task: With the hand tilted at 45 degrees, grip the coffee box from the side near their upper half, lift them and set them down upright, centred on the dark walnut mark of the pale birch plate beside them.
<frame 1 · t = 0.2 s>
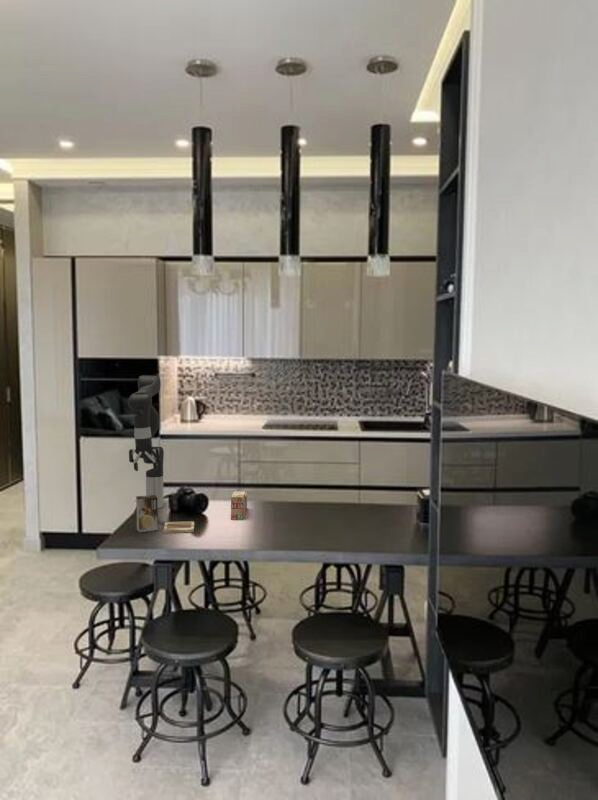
hand: (145, 470, 289), 29 cm above the table, tool pointing down, fingers open, 8 cm apart
coffee box: (147, 530, 293), on the table
birch plate: (179, 528, 296), on the table
printed cardboard box: (239, 515, 323), on the table
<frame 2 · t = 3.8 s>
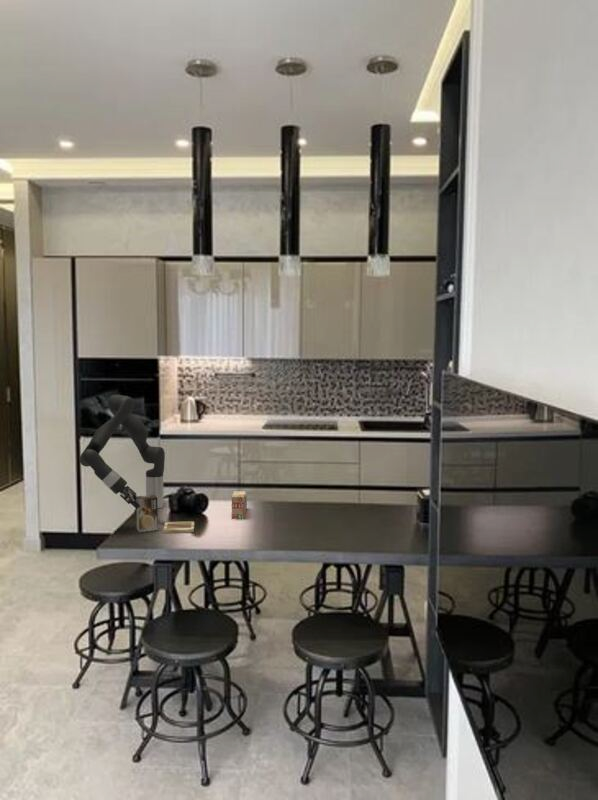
hand: (139, 505, 292), 12 cm above the table, tool tilted 45°, fingers open, 8 cm apart
coffee box: (147, 530, 293), on the table, touching gripper
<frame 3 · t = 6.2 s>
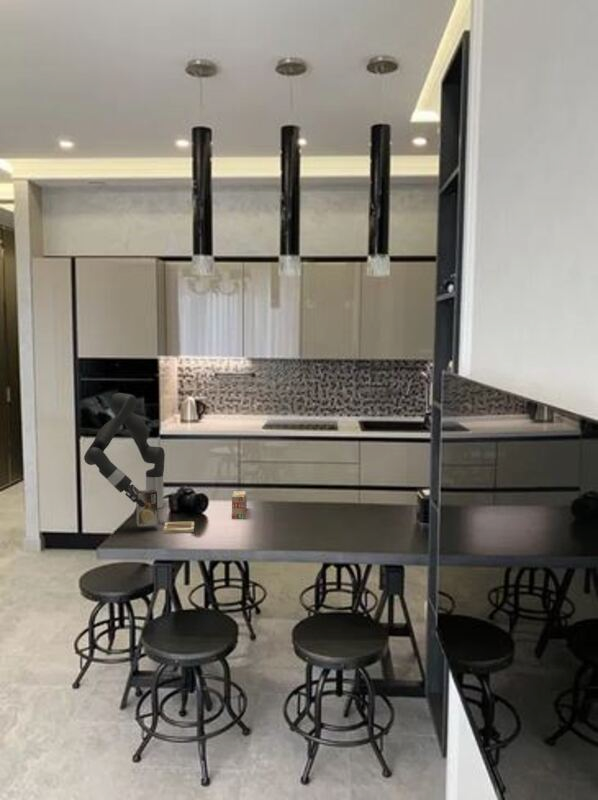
hand: (144, 503, 292), 13 cm above the table, tool tilted 45°, fingers closed on coffee box, 7 cm apart
coffee box: (147, 524, 294), point 2 cm above the table, touching gripper
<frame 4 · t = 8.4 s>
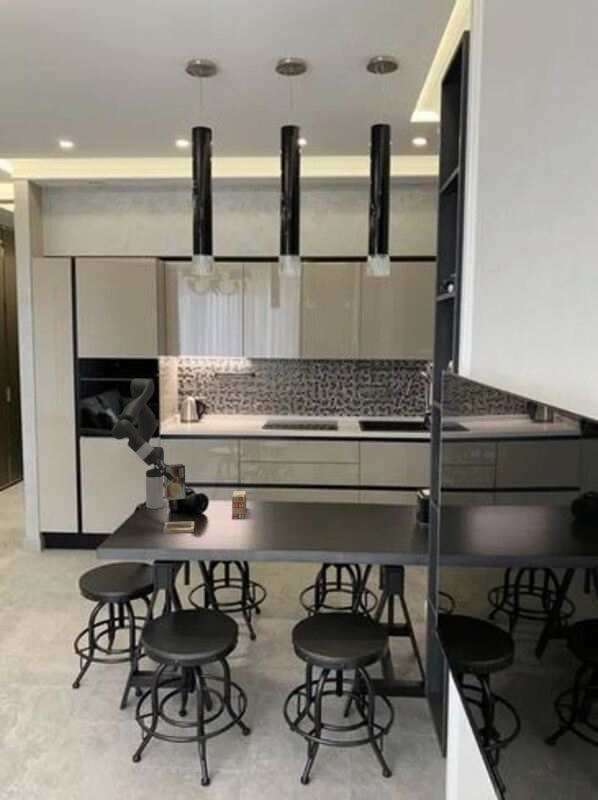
hand: (172, 477, 293), 25 cm above the table, tool tilted 45°, fingers closed on coffee box, 7 cm apart
coffee box: (174, 498, 294), point 15 cm above the table, touching gripper
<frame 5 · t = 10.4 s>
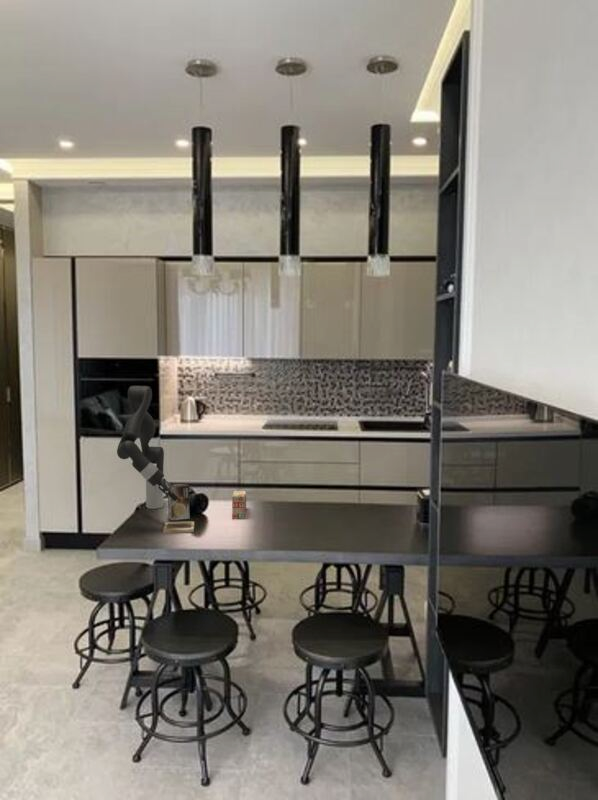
hand: (176, 497, 294), 15 cm above the table, tool tilted 45°, fingers closed on coffee box, 7 cm apart
coffee box: (178, 518, 295), point 5 cm above the table, touching gripper
when the fingers open (13 cm above the table, at t = 12.0 s): coffee box drops 1 cm, resting on birch plate.
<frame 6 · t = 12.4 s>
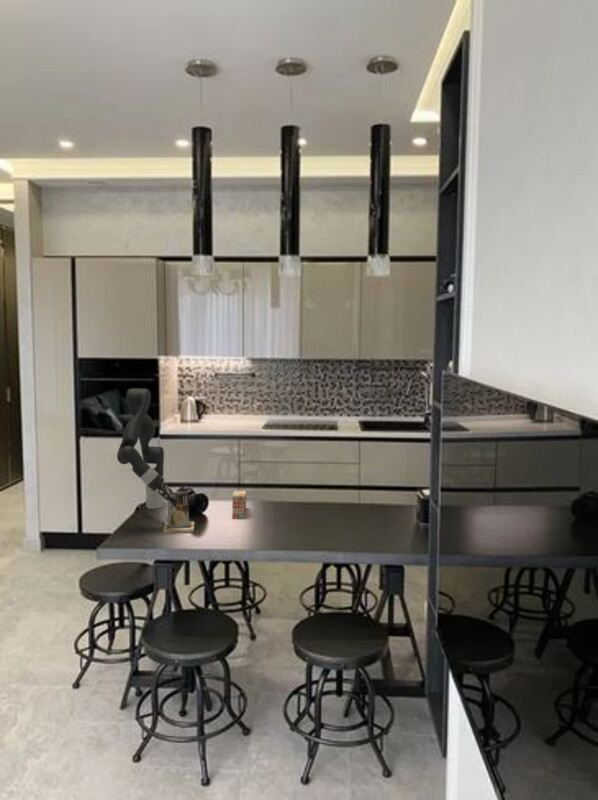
hand: (176, 501, 294), 13 cm above the table, tool tilted 45°, fingers open, 8 cm apart
coffee box: (178, 525, 296), point 1 cm above the table, touching birch plate
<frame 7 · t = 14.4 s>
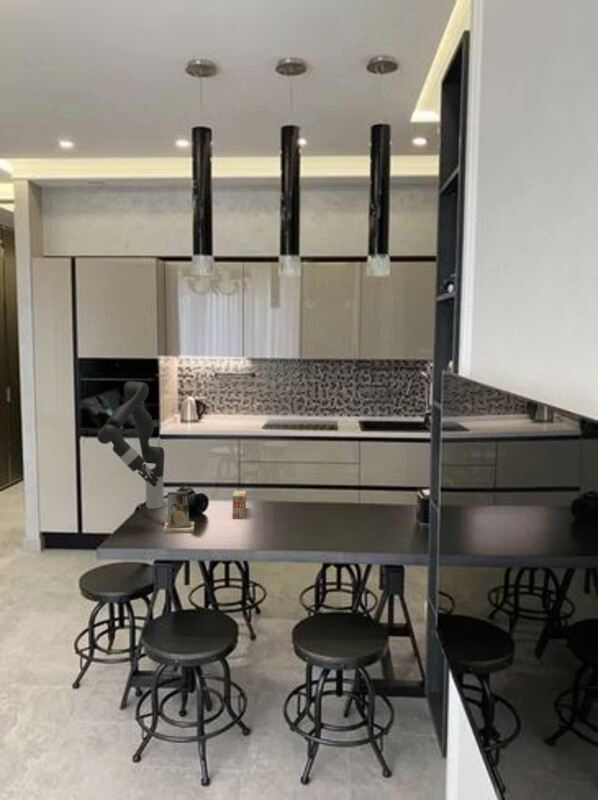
hand: (156, 483, 293), 22 cm above the table, tool tilted 45°, fingers open, 8 cm apart
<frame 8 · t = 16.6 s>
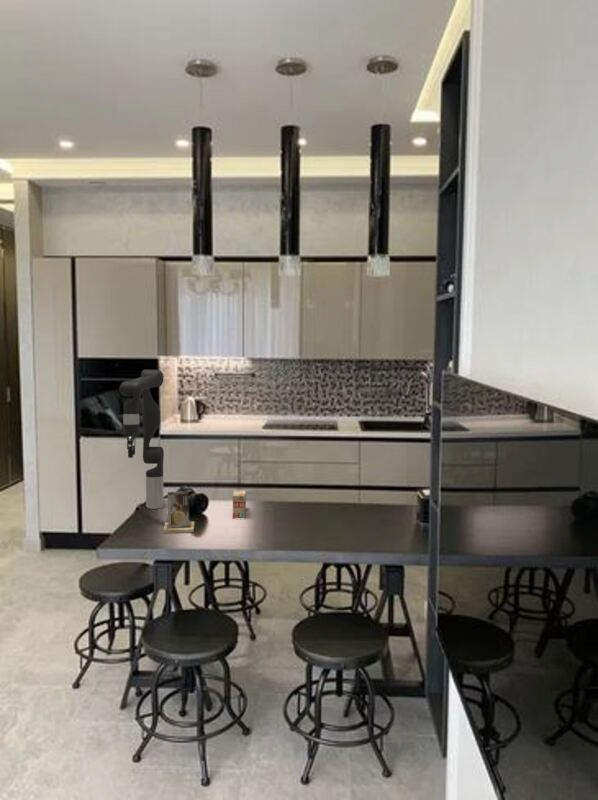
hand: (131, 456, 298), 34 cm above the table, tool pointing down, fingers open, 8 cm apart
at the end: coffee box 0.5 cm off-centre on the birch plate, point 1.3 cm above the birch plate's base; coffee box tilted 0°; the gripper is holding nothing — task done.
